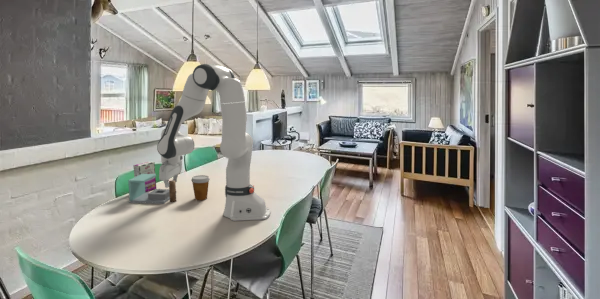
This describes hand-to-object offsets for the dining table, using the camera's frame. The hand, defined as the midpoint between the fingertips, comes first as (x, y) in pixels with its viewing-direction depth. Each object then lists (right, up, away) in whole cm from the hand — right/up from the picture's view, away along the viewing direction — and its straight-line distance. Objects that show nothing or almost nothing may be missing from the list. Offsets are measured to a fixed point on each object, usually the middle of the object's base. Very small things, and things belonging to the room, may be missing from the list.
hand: (171, 184), depth 168 cm
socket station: (-12, -8, +5) cm, 15 cm away
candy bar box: (-22, -6, +19) cm, 30 cm away
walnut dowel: (0, -9, +1) cm, 9 cm away
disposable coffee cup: (+14, -9, +7) cm, 18 cm away
